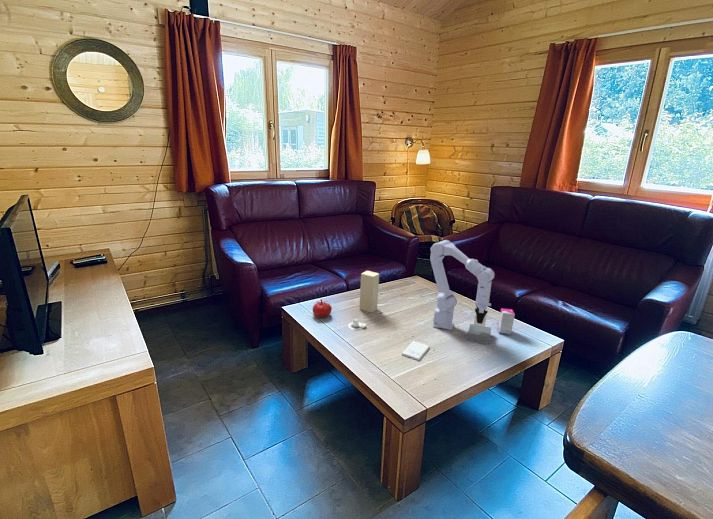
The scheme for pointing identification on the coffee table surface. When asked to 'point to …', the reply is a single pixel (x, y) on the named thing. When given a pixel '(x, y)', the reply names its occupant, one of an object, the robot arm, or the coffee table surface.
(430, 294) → the coffee table surface
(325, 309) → the pomegranate
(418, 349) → the external hard drive
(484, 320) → the cream cube
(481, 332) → the gray block
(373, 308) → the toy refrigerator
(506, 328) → the supplement box
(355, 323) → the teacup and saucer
